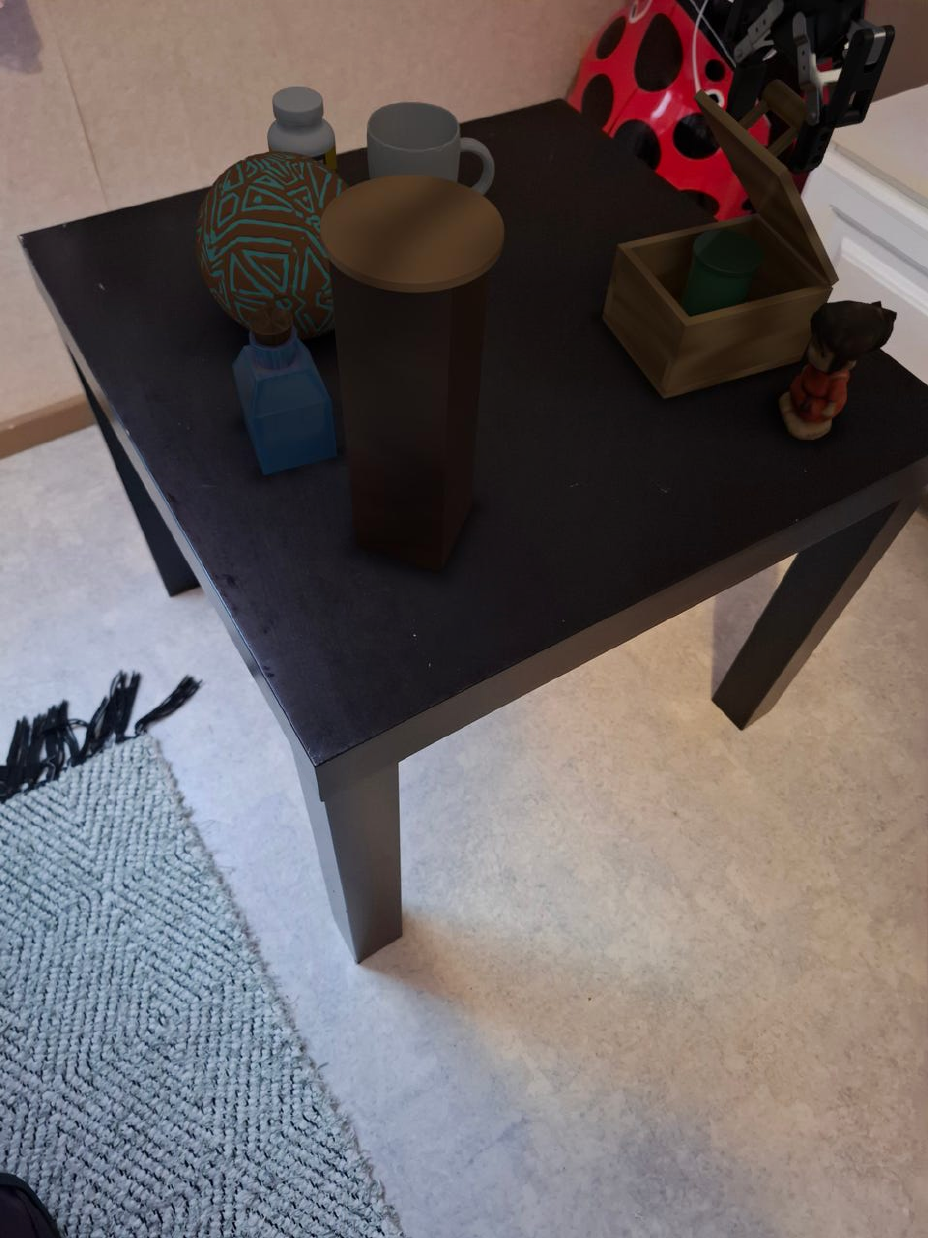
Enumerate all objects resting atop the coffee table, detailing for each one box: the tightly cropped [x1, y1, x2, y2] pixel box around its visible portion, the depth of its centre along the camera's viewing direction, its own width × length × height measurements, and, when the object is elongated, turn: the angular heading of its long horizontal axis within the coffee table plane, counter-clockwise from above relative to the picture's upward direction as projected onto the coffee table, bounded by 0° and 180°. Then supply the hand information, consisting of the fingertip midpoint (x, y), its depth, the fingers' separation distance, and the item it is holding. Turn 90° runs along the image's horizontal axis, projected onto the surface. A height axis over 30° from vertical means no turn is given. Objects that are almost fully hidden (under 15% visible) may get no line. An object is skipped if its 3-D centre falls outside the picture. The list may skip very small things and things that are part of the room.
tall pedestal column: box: [320, 175, 505, 574], centre depth 58 cm, size 10×10×26 cm
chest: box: [601, 212, 834, 400], centre depth 80 cm, size 15×12×8 cm
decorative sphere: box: [195, 151, 351, 341], centre depth 75 cm, size 15×15×15 cm
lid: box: [692, 78, 840, 287], centre depth 71 cm, size 16×12×5 cm
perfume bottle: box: [231, 307, 338, 476], centre depth 68 cm, size 6×6×12 cm
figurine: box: [778, 299, 898, 441], centre depth 73 cm, size 6×6×12 cm
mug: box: [366, 101, 495, 197], centre depth 87 cm, size 13×9×10 cm
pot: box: [679, 230, 765, 317], centre depth 79 cm, size 6×6×8 cm
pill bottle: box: [266, 86, 339, 175], centre depth 86 cm, size 6×6×12 cm
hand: (767, 142), depth 67 cm, fingers open, 8 cm apart
